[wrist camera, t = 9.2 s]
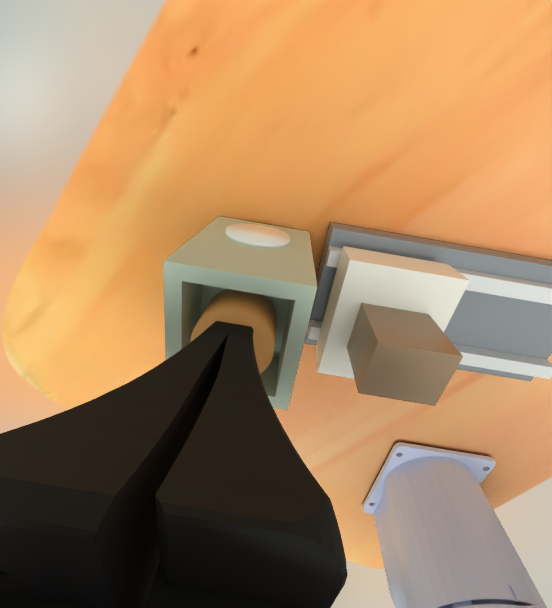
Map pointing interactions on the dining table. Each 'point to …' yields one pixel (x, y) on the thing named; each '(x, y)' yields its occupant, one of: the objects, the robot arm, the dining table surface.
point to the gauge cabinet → (245, 288)
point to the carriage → (391, 325)
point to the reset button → (244, 320)
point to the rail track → (466, 299)
